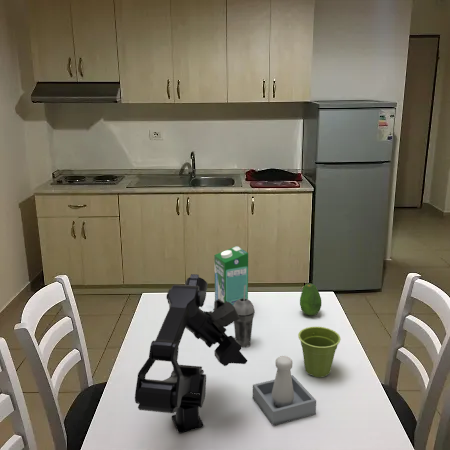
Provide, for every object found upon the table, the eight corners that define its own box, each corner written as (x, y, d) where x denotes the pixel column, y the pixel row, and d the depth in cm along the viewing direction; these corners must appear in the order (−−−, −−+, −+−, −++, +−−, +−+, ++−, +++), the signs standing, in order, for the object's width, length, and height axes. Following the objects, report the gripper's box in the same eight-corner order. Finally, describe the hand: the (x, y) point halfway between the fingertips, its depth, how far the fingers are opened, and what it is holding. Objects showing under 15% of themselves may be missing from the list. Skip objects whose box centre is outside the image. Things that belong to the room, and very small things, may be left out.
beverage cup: (227, 346, 154) (227, 288, 148) (237, 336, 160) (238, 280, 155) (248, 351, 151) (249, 292, 145) (258, 341, 157) (258, 284, 151)
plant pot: (288, 366, 142) (290, 332, 139) (320, 356, 148) (322, 323, 145) (313, 387, 132) (315, 350, 129) (347, 375, 138) (349, 340, 135)
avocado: (296, 310, 179) (298, 280, 175) (317, 309, 179) (319, 279, 176) (302, 320, 171) (303, 289, 168) (323, 319, 172) (325, 288, 168)
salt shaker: (287, 413, 120) (288, 367, 117) (267, 405, 124) (268, 360, 120) (297, 401, 125) (299, 357, 121) (278, 393, 128) (279, 350, 125)
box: (315, 414, 121) (316, 400, 120) (273, 426, 117) (273, 411, 116) (292, 387, 132) (292, 375, 131) (252, 397, 128) (252, 384, 127)
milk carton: (214, 313, 177) (214, 248, 170) (236, 308, 180) (237, 245, 174) (225, 323, 169) (224, 256, 162) (248, 318, 172) (248, 252, 166)
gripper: (233, 312, 109) (275, 346, 116) (206, 282, 126) (244, 314, 133) (201, 349, 108) (245, 382, 115) (178, 315, 125) (218, 345, 132)
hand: (238, 353), depth 124 cm, fingers open, 9 cm apart
